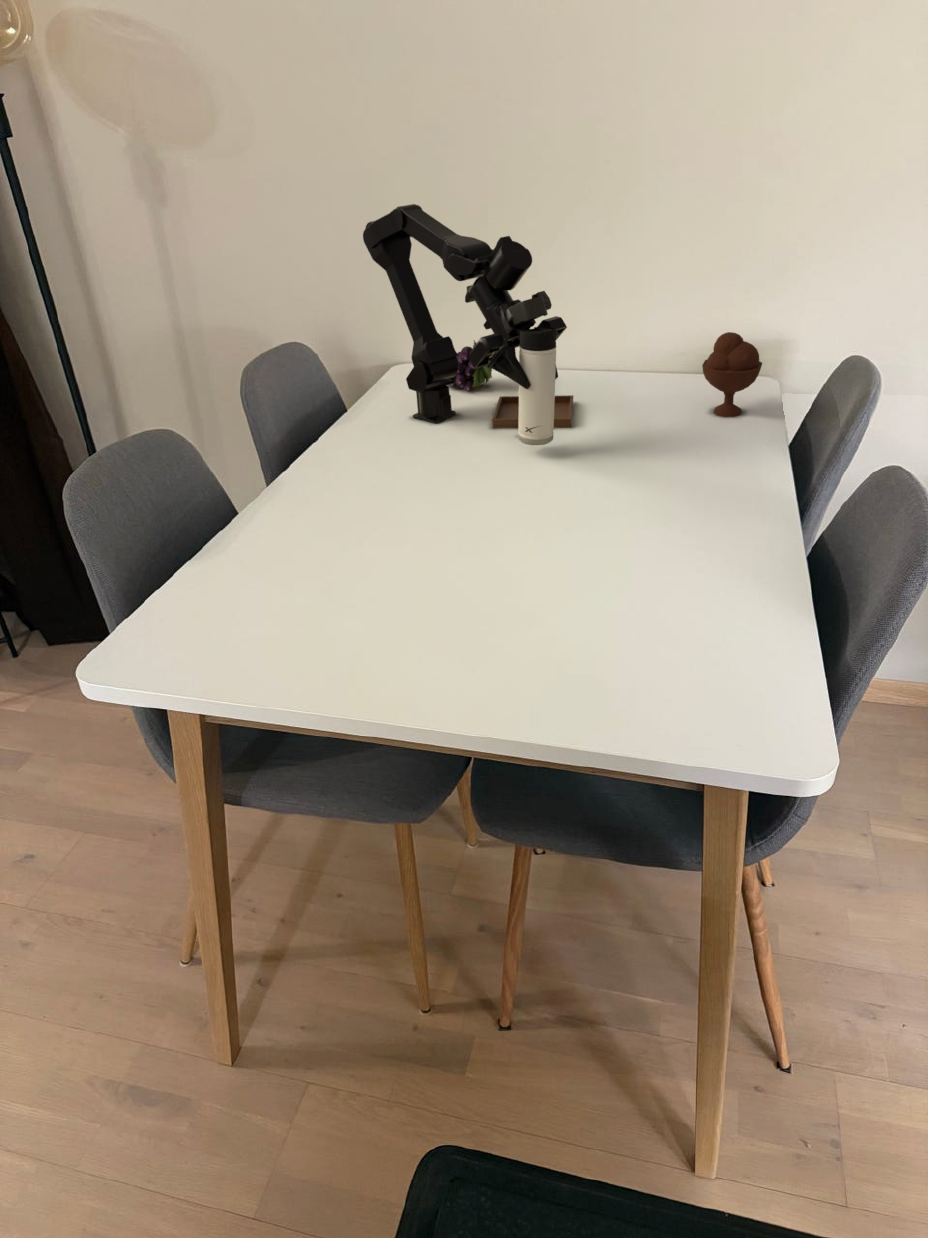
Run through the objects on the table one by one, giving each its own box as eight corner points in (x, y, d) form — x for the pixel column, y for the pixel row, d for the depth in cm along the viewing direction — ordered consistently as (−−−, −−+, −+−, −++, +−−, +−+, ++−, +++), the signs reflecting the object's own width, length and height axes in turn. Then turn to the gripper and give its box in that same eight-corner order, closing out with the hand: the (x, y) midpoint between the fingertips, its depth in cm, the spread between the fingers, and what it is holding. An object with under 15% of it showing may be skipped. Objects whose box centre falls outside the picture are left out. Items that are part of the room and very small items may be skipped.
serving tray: (492, 428, 176) (492, 419, 175) (499, 404, 188) (499, 396, 187) (571, 427, 173) (571, 419, 173) (573, 403, 185) (573, 395, 184)
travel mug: (530, 449, 158) (533, 333, 147) (511, 436, 163) (512, 324, 152) (561, 442, 160) (565, 327, 150) (541, 430, 165) (544, 319, 155)
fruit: (448, 395, 204) (511, 379, 199) (435, 402, 195) (501, 385, 190) (435, 349, 201) (499, 332, 196) (422, 355, 191) (489, 336, 187)
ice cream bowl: (694, 419, 173) (701, 340, 165) (704, 401, 182) (711, 325, 174) (752, 423, 170) (761, 343, 162) (759, 404, 178) (768, 327, 170)
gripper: (477, 287, 145) (525, 369, 143) (559, 267, 155) (605, 343, 153) (449, 329, 154) (493, 406, 153) (528, 307, 164) (571, 380, 163)
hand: (542, 383), depth 155 cm, fingers closed on travel mug, 6 cm apart
